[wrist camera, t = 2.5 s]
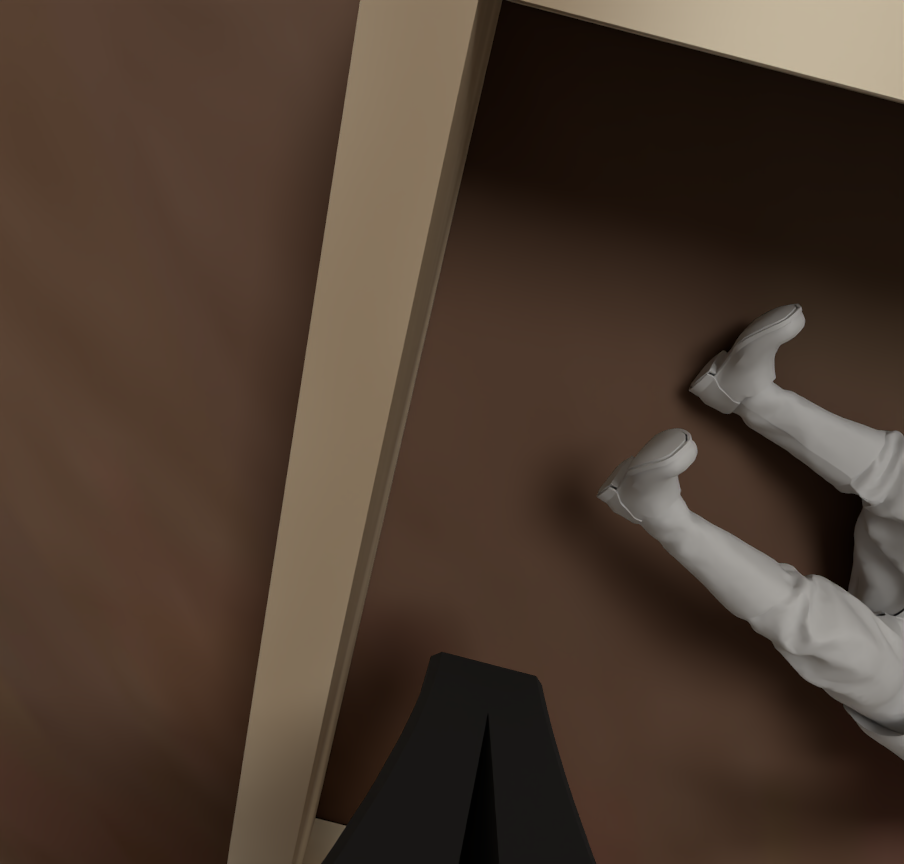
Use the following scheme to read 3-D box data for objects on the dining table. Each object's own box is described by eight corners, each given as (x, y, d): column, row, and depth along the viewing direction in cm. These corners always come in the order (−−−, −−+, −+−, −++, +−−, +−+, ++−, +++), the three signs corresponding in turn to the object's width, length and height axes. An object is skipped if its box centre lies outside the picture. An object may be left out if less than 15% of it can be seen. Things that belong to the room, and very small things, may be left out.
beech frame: (265, 835, 18) (204, 1006, 15) (441, -118, 9) (388, -184, 6) (916, 1000, 18) (992, 1203, 15) (1661, 203, 10) (2189, 291, 6)
